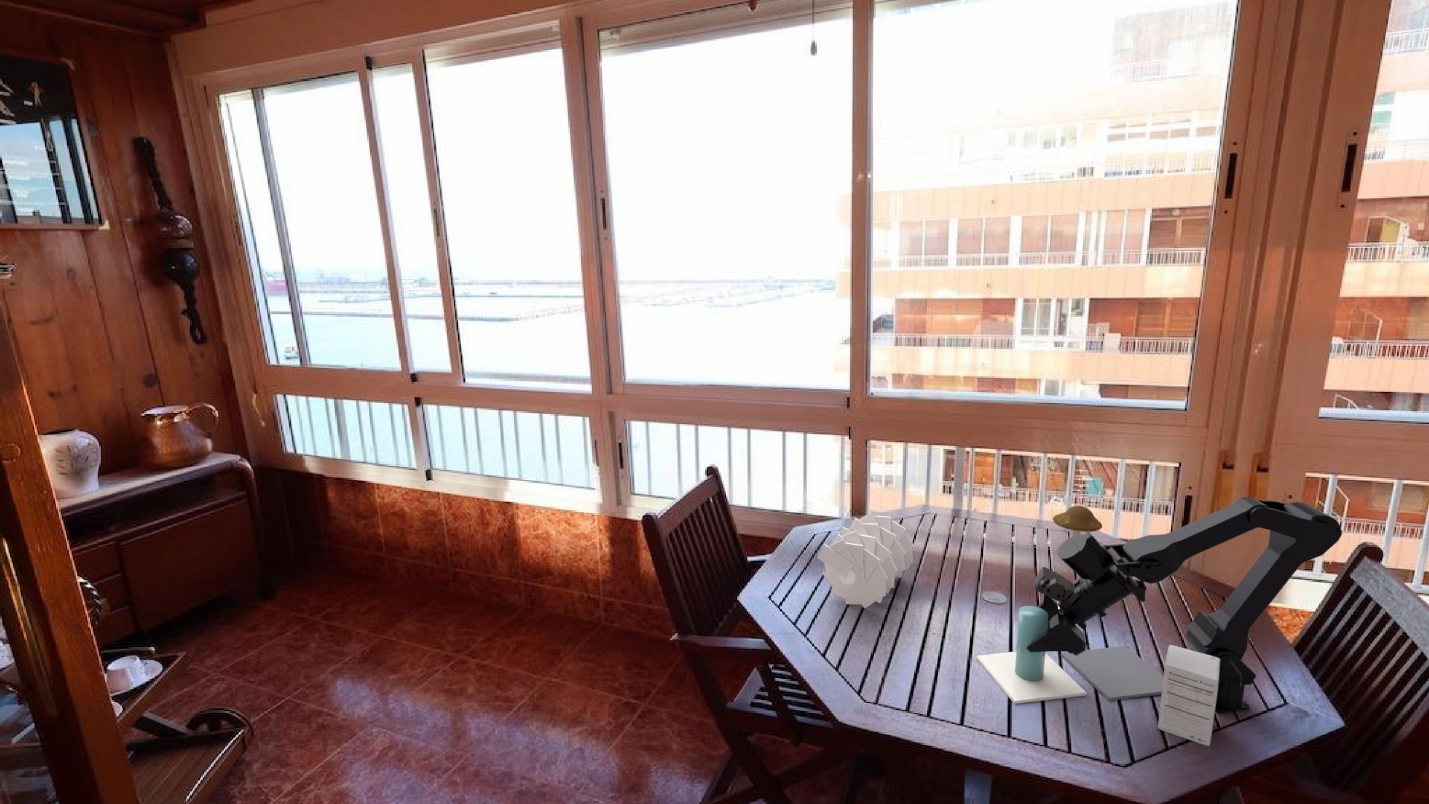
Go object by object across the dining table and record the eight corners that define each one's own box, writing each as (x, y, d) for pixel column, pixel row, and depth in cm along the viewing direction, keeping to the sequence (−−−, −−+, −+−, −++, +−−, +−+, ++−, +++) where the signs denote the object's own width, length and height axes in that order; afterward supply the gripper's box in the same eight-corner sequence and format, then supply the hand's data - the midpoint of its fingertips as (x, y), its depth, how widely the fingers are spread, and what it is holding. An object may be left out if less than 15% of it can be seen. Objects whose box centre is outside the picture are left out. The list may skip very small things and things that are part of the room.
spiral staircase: (899, 587, 171) (864, 630, 150) (842, 547, 178) (801, 582, 158) (932, 533, 164) (900, 570, 143) (872, 493, 171) (833, 523, 150)
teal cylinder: (1049, 677, 126) (1054, 616, 123) (1029, 684, 124) (1034, 622, 121) (1028, 663, 131) (1032, 603, 128) (1009, 669, 129) (1013, 609, 126)
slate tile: (1179, 692, 121) (1179, 689, 121) (1108, 700, 120) (1109, 697, 120) (1124, 648, 135) (1125, 645, 135) (1060, 655, 134) (1061, 652, 133)
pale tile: (1086, 695, 122) (1086, 692, 121) (1014, 703, 120) (1014, 700, 120) (1041, 651, 135) (1041, 648, 135) (976, 658, 134) (976, 655, 134)
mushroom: (1053, 548, 180) (1057, 496, 177) (1101, 557, 174) (1106, 504, 170) (1046, 561, 173) (1050, 507, 170) (1096, 571, 166) (1101, 516, 163)
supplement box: (1161, 705, 118) (1169, 642, 115) (1212, 722, 113) (1222, 657, 111) (1155, 729, 113) (1163, 663, 110) (1209, 748, 108) (1219, 680, 105)
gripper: (1061, 539, 129) (997, 582, 135) (1069, 583, 112) (995, 629, 119) (1104, 582, 127) (1037, 623, 134) (1118, 633, 111) (1041, 677, 117)
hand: (1027, 636), depth 126 cm, fingers open, 9 cm apart
